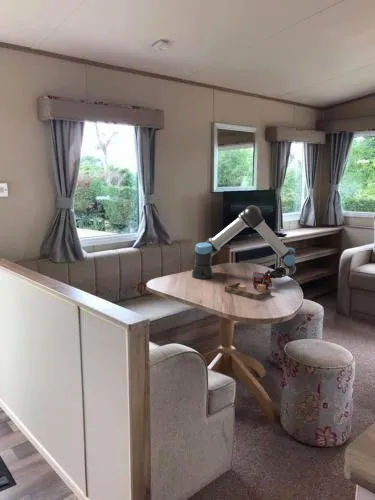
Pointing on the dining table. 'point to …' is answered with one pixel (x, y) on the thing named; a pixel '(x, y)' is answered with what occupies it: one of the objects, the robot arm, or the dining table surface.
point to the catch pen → (246, 294)
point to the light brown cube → (242, 288)
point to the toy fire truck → (261, 280)
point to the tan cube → (261, 287)
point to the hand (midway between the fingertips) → (263, 277)
